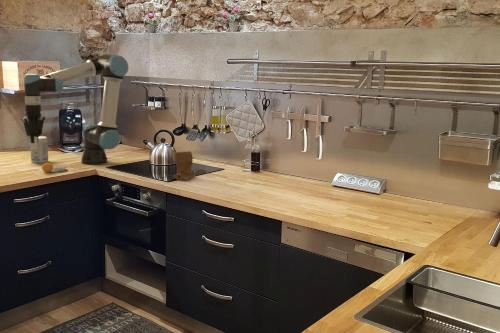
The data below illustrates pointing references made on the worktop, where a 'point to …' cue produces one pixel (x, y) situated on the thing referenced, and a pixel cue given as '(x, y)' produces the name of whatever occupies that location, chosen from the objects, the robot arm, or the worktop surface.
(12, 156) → the worktop surface
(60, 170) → the disc
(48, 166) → the ball
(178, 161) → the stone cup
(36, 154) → the supplement tub
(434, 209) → the worktop surface
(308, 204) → the worktop surface
